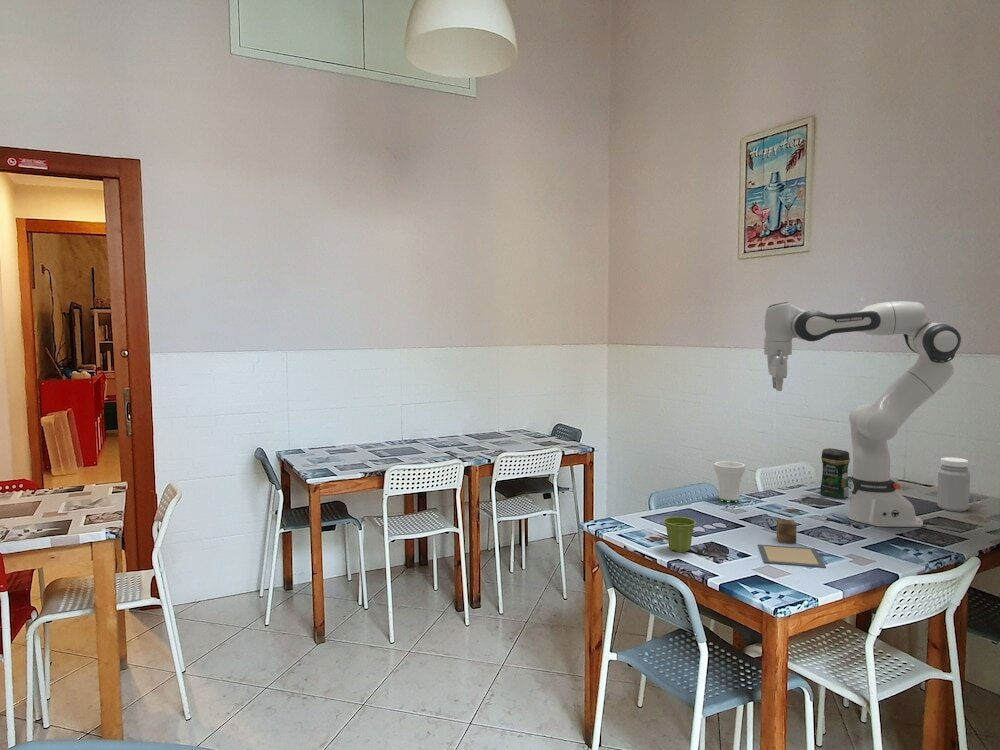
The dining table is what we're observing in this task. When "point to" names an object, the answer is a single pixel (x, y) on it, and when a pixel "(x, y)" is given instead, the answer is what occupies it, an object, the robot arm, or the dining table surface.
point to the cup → (729, 479)
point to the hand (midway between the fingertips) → (777, 389)
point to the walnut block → (786, 531)
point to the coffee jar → (835, 473)
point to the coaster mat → (791, 556)
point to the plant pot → (679, 533)
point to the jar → (953, 484)
